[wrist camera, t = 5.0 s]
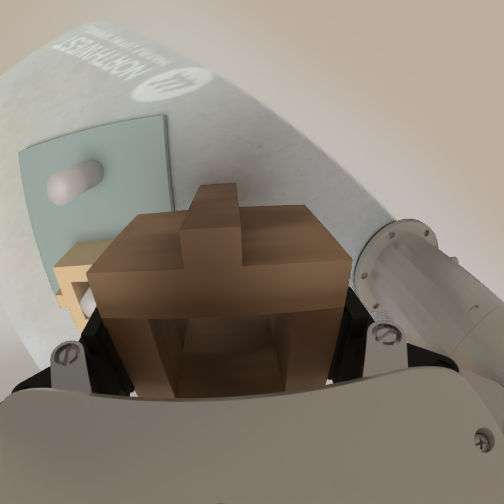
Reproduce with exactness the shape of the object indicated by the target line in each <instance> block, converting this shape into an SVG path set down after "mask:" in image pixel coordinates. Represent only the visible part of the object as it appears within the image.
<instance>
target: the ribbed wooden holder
mask: <svg viewBox="0 0 504 504" xmlns="http://www.w3.org/2000/svg"><path fill="white" fill-rule="evenodd" d="M352 260H353V259H352V258H351V257H350V256H349V255H348V253H347V252H346V251H345V250H344V249H343V248H342V246H341V245H340V244H339V243H338V242H337V241H336V239H335V238H334V237H333V236H332V235H331V234H330V233H329V231H328V230H327V229H326V228H325V227H324V226H323V225H322V224H321V222H320V221H319V220H318V219H317V218H316V217H315V216H314V215H313V214H312V212H311V211H310V210H309V209H308V208H307V207H306V206H305V205H282V206H254V207H239V206H238V197H237V188H236V183H228V184H211V185H200V187H199V189H198V191H197V193H196V195H195V197H194V199H193V201H192V203H191V205H190V208H189V210H183V211H170V212H158V213H147V214H138V215H137V216H136V217H135V218H134V219H133V220H132V221H131V222H130V223H129V224H128V225H127V226H126V227H125V228H124V229H123V231H122V232H121V233H120V234H119V235H118V236H117V237H116V238H115V239H114V240H113V242H112V243H111V244H110V245H109V246H108V247H107V248H106V250H105V251H104V252H103V253H102V254H101V255H100V256H99V258H98V259H97V260H96V261H95V262H94V264H93V265H92V266H91V267H90V268H89V270H88V271H87V272H86V276H87V279H88V282H89V285H90V288H91V291H92V294H93V297H94V300H95V303H96V305H97V308H98V311H99V313H100V316H101V319H102V321H103V324H104V326H105V328H107V329H108V332H109V334H110V337H111V339H112V341H113V343H114V346H115V348H116V350H117V352H118V355H119V357H120V359H121V361H122V363H123V365H124V367H125V369H126V371H127V373H128V375H129V377H130V379H131V381H132V383H133V385H134V387H135V389H134V390H135V392H136V394H137V395H138V397H147V398H218V397H236V396H248V395H259V394H269V393H277V392H285V391H292V390H299V389H306V388H312V387H317V386H323V385H325V384H326V381H327V377H328V374H329V370H330V366H331V362H332V359H333V355H334V351H335V347H336V342H337V338H338V334H339V329H340V325H341V320H342V315H343V311H344V306H345V301H346V295H347V290H348V284H349V279H350V273H351V267H352Z"/></svg>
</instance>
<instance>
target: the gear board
mask: <svg viewBox="0 0 504 504" xmlns="http://www.w3.org/2000/svg"><path fill="white" fill-rule="evenodd" d="M18 154H19V163H20V170H21V177H22V183H23V188H24V194H25V199H26V204H27V208H28V213H29V217H30V221H31V225H32V229H33V233H34V236H35V240H36V243H37V247H38V250H39V253H40V256H41V259H42V262H43V265H44V268H45V271H46V274H47V277H48V279H49V282H50V285H51V287H52V290H53V292H54V295H55V297H56V300H57V302H58V304H59V306H60V308H68V309H69V311H70V314H71V316H72V318H73V320H74V323H75V325H76V327H77V329H78V331H83V330H84V328H85V326H86V324H87V322H88V320H89V318H90V317H91V315H92V313H93V311H94V309H95V308H96V306H97V305H96V303H95V300H94V297H93V294H92V291H91V288H90V285H89V282H88V279H87V276H86V272H87V271H88V270H89V268H90V267H91V266H92V265H93V264H94V262H95V261H96V260H97V259H98V258H99V256H100V255H101V254H102V253H103V252H104V251H105V250H106V248H107V247H108V246H109V245H110V244H111V243H112V242H113V240H114V239H115V238H116V237H117V236H118V235H119V234H120V233H121V232H122V231H123V229H124V228H125V227H126V226H127V225H128V224H129V223H130V222H131V221H132V220H133V219H134V218H135V217H136V216H137V215H138V214H147V213H158V212H170V211H174V204H173V195H172V185H171V175H170V164H169V152H168V138H167V121H166V115H159V116H152V117H146V118H140V119H134V120H129V121H124V122H119V123H114V124H109V125H105V126H100V127H96V128H92V129H88V130H84V131H80V132H77V133H73V134H69V135H66V136H63V137H59V138H56V139H53V140H50V141H47V142H44V143H41V144H38V145H35V146H32V147H30V148H27V149H24V150H22V151H19V152H18Z"/></svg>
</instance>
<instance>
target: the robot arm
mask: <svg viewBox="0 0 504 504" xmlns="http://www.w3.org/2000/svg"><path fill="white" fill-rule="evenodd" d="M354 284H355V290H356V293H357V295H358V297H357V295H356V294H355V293H354V291H353V290H352V288H351V287H348V290H347V295H346V301H345V306H344V311H343V315H342V320H341V325H340V329H339V334H338V338H337V342H336V347H335V351H334V355H333V359H332V362H331V366H330V370H329V374H328V377H327V379H328V380H331V379H332V381H333V384H329V385H323V386H317V387H312V388H306V389H299V390H292V391H285V392H277V393H269V394H259V395H248V396H236V397H218V398H147V397H130V392H133V391H134V389H135V387H134V385H133V383H132V381H131V379H130V377H129V375H128V373H127V371H126V369H125V367H124V365H123V363H122V361H121V359H120V357H119V355H118V352H117V350H116V348H115V346H114V343H113V341H112V339H111V337H110V334H109V332H108V329H107V328H105V326H104V324H103V321H102V319H101V316H100V313H99V311H98V308H97V306H96V308H95V309H94V311H93V313H92V315H91V317H90V318H89V320H88V322H87V324H86V326H85V328H84V330H83V332H82V334H81V338H80V340H79V342H77V341H66V342H64V343H61V344H60V345H58V346H57V347H56V348H55V349H54V350H53V352H52V354H51V359H50V362H51V366H50V367H48V368H46V369H44V370H43V371H41V372H39V373H37V374H36V375H34V376H32V377H30V378H28V379H27V380H25V381H23V382H21V383H20V384H18V385H17V386H16V387H15V388H14V389H13V391H12V393H11V394H10V395H9V396H7V397H6V398H5V400H4V401H2V402H1V403H0V504H504V302H503V301H502V300H500V299H499V298H498V297H497V296H496V295H495V294H494V293H493V292H491V291H490V290H489V289H488V288H487V287H486V286H485V285H483V284H482V283H481V282H480V281H479V280H477V279H476V278H475V277H474V276H473V275H471V274H470V273H469V272H468V271H466V270H465V269H464V268H463V267H461V266H460V265H459V264H458V259H457V258H456V257H448V256H447V255H446V254H444V253H443V252H442V251H440V250H439V249H438V243H437V239H436V236H435V234H434V232H433V231H432V230H431V229H430V228H429V227H428V226H427V225H426V224H424V223H422V222H420V221H418V220H414V219H403V220H398V221H395V222H393V223H391V224H389V225H387V226H386V227H385V228H383V229H382V230H380V231H379V232H378V233H377V234H376V235H375V236H374V237H373V238H372V239H371V241H370V242H369V243H368V244H367V246H366V247H365V249H364V251H363V252H362V254H361V256H360V258H359V261H358V264H357V266H356V271H355V279H354ZM359 299H360V300H361V301H360V300H359ZM361 302H362V303H363V304H364V305H365V306H366V307H367V308H368V309H370V310H372V311H375V312H379V313H383V312H386V313H387V315H388V316H389V317H390V319H391V320H392V321H393V322H389V321H377V322H375V321H374V320H373V318H372V317H371V316H370V314H369V313H368V311H367V310H366V308H365V307H364V305H363V304H362V303H361ZM406 340H407V341H408V343H407V342H406Z"/></svg>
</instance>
